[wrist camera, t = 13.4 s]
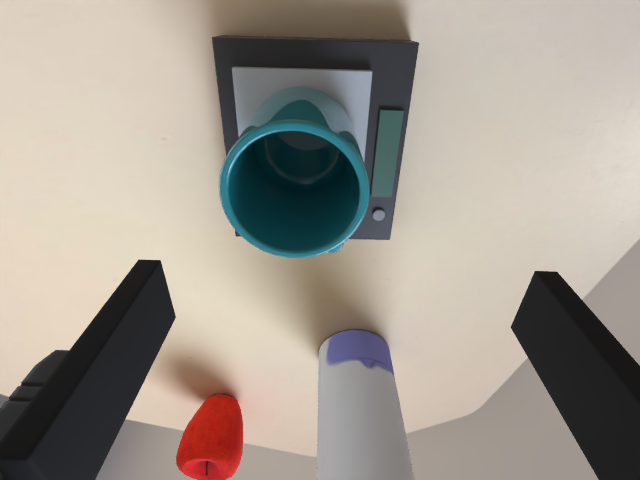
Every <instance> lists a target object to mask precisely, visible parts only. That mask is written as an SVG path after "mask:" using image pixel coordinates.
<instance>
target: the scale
mask: <svg viewBox="0 0 640 480" xmlns="http://www.w3.org/2000/svg"><path fill="white" fill-rule="evenodd" d="M212 42H213V50H214V59H215V67H216V75H217V84H218V92H219V100H220V109H221V117H222V125H223V134H224V142H225V150H226V156H227V154H228V153H229V151H230V150H231V148H232V147H233V145H234V144H235V142H236V141H237V139H238V138H239V136H240V135H241V133H242V132H243V131H244V129H245V128H246V126H247V125H248V123H249V122H250V120H251V119H252V117H253V116H254V114H255V113H256V112H257V110H258V109H259V107H260V106H261V105H262V104H263V103H264V102H265V101H266V100H267V99H268V98H270V97H271V96H272V95H274V94H276V93H278V92H280V91H282V90H285V89H289V88H294V87H308V88H314V89H317V90H320V91H323V92H325V93H327V94H329V95H330V96H332V97H333V98H334V99H336V100H337V101H338V102H339V103H340V104H341V105H342V106H343V107H344V109H345V110H346V111H347V113H348V114H349V116H350V118H351V120H352V123H353V126H354V129H355V132H356V136H357V140H358V143H359V147H360V151H361V154H362V158H363V162H364V165H365V169H366V173H367V177H368V182H369V201H368V206H367V210H366V213H365V216H364V218H363V220H362V222H361V224H360V225H359V227H358V228H357V230H356V231H355V232H354V233H353V234H352V236H351V237H350V238H348V239H376V240H390V235H391V228H392V221H393V215H394V208H395V201H396V194H397V188H398V181H399V174H400V167H401V161H402V154H403V147H404V140H405V134H406V127H407V120H408V113H409V107H410V100H411V93H412V86H413V80H414V73H415V66H416V60H417V53H418V46H419V43H418V42H414V41H411V40H377V39H339V38H301V37H262V36H224V35H221V36H217V37H212ZM235 234H236V236H241V235H240V234H239V233H238V232H237V231H236V230H235Z"/></svg>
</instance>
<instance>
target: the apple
mask: <svg viewBox="0 0 640 480" xmlns="http://www.w3.org/2000/svg"><path fill="white" fill-rule="evenodd" d="M242 448H243V421H242V414H241V409H240V407H239V404H238V402H237V400H236V399H234V398H233V397H231V396H228V395H212V396H211V397H209V398H208V399H207V400H206V401H205V402H204V403H203V404H202V406H201V407H200V408H199V410H198V411H197V412H196V414H195V415H194V416H193V418H192V419H191V421H190V422H189V424H188V425H187V427H186V429H185V431H184V433H183V436H182V439H181V442H180V445H179V448H178V452H177V456H176V462H177V466H178V468H179V470H180V471H182V472H183V473H184V474H185V475H187V476H189V477H191V478H194V479H197V480H226V479H227V478H229V477H232V476H233V474H234V473H235V471H236V469H237V468H238V465H239V463H240V460H241V456H242Z"/></svg>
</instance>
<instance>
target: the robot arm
mask: <svg viewBox="0 0 640 480" xmlns="http://www.w3.org/2000/svg"><path fill="white" fill-rule="evenodd" d="M175 318H176V316H175V313H174V309H173V305H172V301H171V298H170V294H169V290H168V286H167V283H166V279H165V275H164V272H163V268H162V264H161V260H138V261H137V263H136V264H135V265H134V267H133V268H132V269H131V271H130V272H129V273H128V274H127V276H126V277H125V278H124V280H123V281H122V282H121V284H120V285H119V286H118V288H117V289H116V290H115V292H114V293H113V294H112V295H111V297H110V298H109V299H108V301H107V302H106V303H105V305H104V306H103V307H102V309H101V310H100V311H99V313H98V314H97V315H96V316H95V318H94V319H93V320H92V322H91V323H90V324H89V326H88V327H87V328H86V330H85V331H84V332H83V334H82V335H81V336H80V337H79V339H78V340H77V341H76V343H75V344H74V345H73V347H72V348H71V349H70V351H67V350H55V351H54V352H52V353H51V354H50V355H48V356H47V357H46V358H44V359H43V360H42V361H41V362H39V363H38V364H37V365H35V367H34V368H33V369H32V370H31V371H30V373H29V374H28V375H27V376H26V378H25V379H24V380H23V381H22V382H21V386H18V387H17V388H16V390H15V391H14V392H13V393H12V395H11V396H10V397H9V401H6V402H5V403H4V404H3V405H2V407H1V408H0V480H95V479H96V477H97V475H98V473H99V471H100V469H101V467H102V465H103V463H104V460H105V459H106V457H107V455H108V452H109V450H110V448H111V446H112V444H113V443H114V440H115V439H116V436H117V435H118V432H119V430H120V428H121V426H122V424H123V422H124V420H125V418H126V416H127V414H128V412H129V410H130V408H131V406H132V404H133V402H134V400H135V398H136V396H137V394H138V392H139V390H140V388H141V386H142V384H143V382H144V380H145V378H146V376H147V374H148V372H149V370H150V368H151V366H152V364H153V362H154V360H155V358H156V356H157V354H158V352H159V350H160V348H161V346H162V344H163V342H164V340H165V338H166V336H167V334H168V332H169V330H170V328H171V326H172V324H173V322H174V320H175ZM511 329H512V330H513V332H514V334H515V335H516V337H517V339H518V341H519V342H520V344H521V346H522V348H523V349H524V351H525V353H526V354H527V356H528V358H529V360H530V361H531V363H532V365H533V367H534V368H535V370H536V372H537V374H538V375H539V377H540V379H541V380H542V382H543V384H544V386H545V387H546V389H547V391H548V393H549V394H550V396H551V398H552V399H553V401H554V403H555V405H556V406H557V408H558V410H559V412H560V413H561V415H562V417H563V419H564V420H565V422H566V424H567V425H568V427H569V429H570V431H571V432H572V434H573V436H574V438H575V439H576V441H577V443H578V445H579V446H580V448H581V450H582V451H583V453H584V455H585V457H586V458H587V460H588V462H589V464H590V465H591V467H592V469H593V470H594V472H595V474H596V475H597V477H598V479H599V480H640V366H639V365H638V363H637V362H636V361H635V360H634V359H633V358H632V357H631V355H630V354H629V353H628V352H627V351H626V350H625V349H624V348H623V347H622V345H621V344H620V343H619V342H618V341H617V340H616V338H615V337H614V336H613V335H612V334H611V333H610V332H609V330H608V329H607V328H606V327H605V326H604V325H603V324H602V322H601V321H600V320H599V319H598V318H597V317H596V316H595V314H594V313H593V312H592V311H591V310H590V309H589V308H588V307H587V305H586V304H585V303H584V302H583V301H582V300H581V299H580V297H579V296H578V295H577V294H576V293H575V292H574V291H573V289H572V288H571V287H570V286H569V285H568V284H567V283H566V281H565V280H564V279H563V278H562V277H561V276H560V275H559V273H558V272H548V271H535V272H534V275H533V277H532V279H531V282H530V284H529V286H528V289H527V291H526V293H525V296H524V298H523V300H522V302H521V305H520V307H519V309H518V312H517V314H516V316H515V319H514V321H513V323H512V326H511Z"/></svg>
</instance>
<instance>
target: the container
mask: <svg viewBox="0 0 640 480" xmlns="http://www.w3.org/2000/svg"><path fill="white" fill-rule="evenodd" d="M317 480H415V479H414V474H413V470H412V464H411V459H410V454H409V449H408V443H407V438H406V433H405V428H404V423H403V418H402V413H401V408H400V402H399V397H398V392H397V387H396V382H395V377H394V372H393V366H392V361H391V356H390V351H389V347H388V345H387V343H386V342H385V341H384V340H383V339H382V338H381V337H379V336H378V335H376V334H374V333H371V332H368V331H363V330H348V331H343V332H340V333H337V334H335V335H333V336H331V337H329V338H328V339H327V340H326V341H325V342H324V343H323V344H322V345H321V347H320V350H319V367H318V433H317Z"/></svg>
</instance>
